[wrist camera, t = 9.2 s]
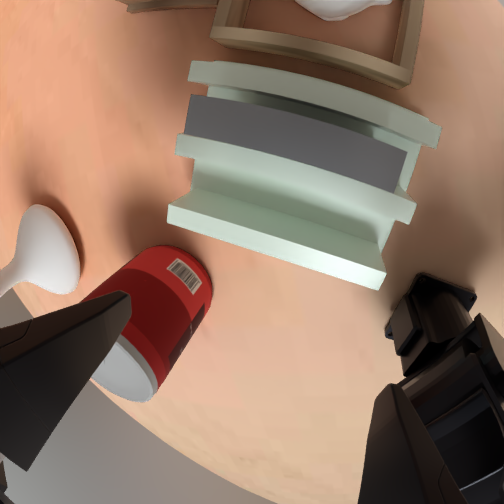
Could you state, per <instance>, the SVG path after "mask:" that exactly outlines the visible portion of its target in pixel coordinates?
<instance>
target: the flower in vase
mask: <svg viewBox="0 0 504 504" xmlns="http://www.w3.org/2000/svg"><path fill="white" fill-rule="evenodd" d="M79 277H80V261H79V256H78V252H77V249H76V246H75V243H74V241H73V238H72V236H71V234H70V232H69V230H68V229H67V227H66V225H65V224H64V222H63V221H62V220H61V218H60V217H59V216H58V215H57V214H56V213H55V212H54V211H53V210H51V209H50V208H48V207H46V206H43V205H39V204H34V205H32V206H30V207H29V208H28V209H27V210H26V212H25V213H24V214H23V216H22V219H21V222H20V225H19V229H18V236H17V244H16V251H15V255H14V258H13V259H12V261H11V262H10V263H9V264H8V265H7V266H6V267H4V268H3V269H2V270H0V297H1V296H2V295H3V294H4V293H5V292H7V290H9V289H10V288H12V287H13V286H15V285H16V284H18V283H20V282H24V281H27V282H31V283H33V284H35V285H37V286H39V287H41V288H43V289H45V290H48V291H50V292H53V293H57V294H67V293H70V292H73V291H74V290H75V289H76V287H77V285H78V281H79Z"/></svg>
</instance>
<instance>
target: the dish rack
mask: <svg viewBox="0 0 504 504" xmlns="http://www.w3.org/2000/svg"><path fill="white" fill-rule="evenodd" d="M187 81H190V82H195V83H199V84H204V85H208V86H209V87H208V92H207V96H208V97H215V98H221V99H227V100H233V101H239V102H244V103H250V104H255V105H259V106H264V107H269V108H273V109H277V110H282V111H286V112H290V113H294V114H298V115H301V116H305V117H309V118H312V119H316V120H319V121H323V122H326V123H329V124H333V125H336V126H339V127H342V128H345V129H348V130H351V131H354V132H357V133H360V134H363V135H366V136H368V137H371V138H374V139H376V140H379V141H382V142H384V143H387V144H389V145H392V146H394V147H397V148H399V149H402V150H404V151H406V152H408V153H407V156H406V159H405V162H404V165H403V168H402V171H401V174H400V177H399V180H398V183H397V186H396V189H395V192H394V194H393V193H390V192H388V191H385V190H383V189H380V188H377V187H375V186H372V185H369V184H366V183H364V182H361V181H358V180H355V179H352V178H349V177H347V176H344V175H341V174H338V173H335V172H332V171H328V170H325V169H322V168H319V167H316V166H313V165H309V164H306V163H303V162H299V161H296V160H292V159H289V158H285V157H282V156H278V155H274V154H271V153H267V152H263V151H259V150H255V149H251V148H247V147H243V146H238V145H234V144H230V143H225V142H221V141H216V140H211V139H206V138H201V137H196V136H191V135H186V134H184V133H179V134H177V141H176V148H175V155H179V156H183V157H188V158H192V159H195V163H194V169H193V176H192V183H191V189H190V192H189V193H187V194H186V195H184V196H182V197H180V198H179V199H177V200H175V201H173V202H172V203H170V204H168V215H167V223H169V224H172V225H176V226H179V227H182V228H185V229H188V230H191V231H194V232H197V233H201V234H204V235H207V236H210V237H213V238H216V239H219V240H222V241H225V242H229V243H232V244H235V245H238V246H241V247H244V248H247V249H250V250H253V251H257V252H260V253H263V254H266V255H269V256H272V257H275V258H278V259H281V260H285V261H288V262H291V263H294V264H297V265H300V266H303V267H306V268H309V269H312V270H316V271H319V272H322V273H325V274H328V275H331V276H334V277H337V278H340V279H343V280H346V281H350V282H353V283H356V284H359V285H362V286H365V287H368V288H371V289H374V290H377V291H378V290H379V288H380V286H381V284H382V282H383V280H384V278H385V276H386V274H387V272H386V269H385V265H384V262H383V259H382V255H381V253H382V250H383V248H384V246H385V243H386V241H387V239H388V236H389V234H390V232H391V229H392V227H393V224H394V222H395V220H398V221H400V222H403V223H405V224H408V225H409V223H410V221H411V219H412V216H413V214H414V211H415V209H416V206H417V203H416V202H415V201H414V200H413V199H412V198H411V197H410V196H409V195H408V194H407V193H406V190H407V188H408V185H409V182H410V179H411V176H412V173H413V170H414V167H415V164H416V161H417V158H418V155H419V151H420V148H421V145H423V146H427V147H430V148H433V149H436V148H437V144H438V141H439V137H440V134H441V130H442V127H440V126H438V125H436V124H434V123H432V122H430V121H428V120H429V119H428V118H426V117H424V116H422V115H420V114H417V113H415V112H413V111H411V110H408V109H406V108H404V107H401V106H399V105H396V104H394V103H391V102H389V101H386V100H384V99H381V98H378V97H376V96H373V95H370V94H367V93H364V92H361V91H358V90H355V89H352V88H349V87H346V86H343V85H339V84H336V83H333V82H329V81H325V80H322V79H318V78H314V77H310V76H306V75H302V74H297V73H293V72H288V71H284V70H279V69H273V68H268V67H262V66H256V65H249V64H242V63H235V62H226V61H217V60H214V62H207V61H194V60H192V61H191V66H190V70H189V75H188V80H187Z"/></svg>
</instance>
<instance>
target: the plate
mask: <svg viewBox="0 0 504 504" xmlns="http://www.w3.org/2000/svg"><path fill="white" fill-rule="evenodd" d="M184 134H186V135H191V136H196V137H201V138H206V139H211V140H216V141H221V142H225V143H230V144H234V145H238V146H243V147H247V148H251V149H255V150H259V151H263V152H267V153H271V154H274V155H278V156H282V157H285V158H289V159H292V160H296V161H299V162H303V163H306V164H309V165H313V166H316V167H319V168H322V169H325V170H328V171H332V172H335V173H338V174H341V175H344V176H347V177H349V178H352V179H355V180H358V181H361V182H364V183H366V184H369V185H372V186H375V187H377V188H380V189H383V190H385V191H388V192H390V193H393V194H394V192H395V189H396V186H397V183H398V180H399V177H400V174H401V171H402V168H403V165H404V162H405V159H406V156H407V153H408V152H406V151H404V150H402V149H399V148H397V147H394V146H392V145H389V144H387V143H384V142H382V141H379V140H376V139H374V138H371V137H368V136H366V135H363V134H360V133H357V132H354V131H351V130H348V129H345V128H342V127H339V126H336V125H333V124H329V123H326V122H323V121H319V120H316V119H312V118H309V117H305V116H301V115H298V114H294V113H290V112H286V111H282V110H277V109H273V108H269V107H264V106H259V105H255V104H250V103H244V102H239V101H233V100H227V99H221V98H215V97H208V96H201V95H193V94H191V97H190V102H189V108H188V113H187V118H186V124H185V130H184Z"/></svg>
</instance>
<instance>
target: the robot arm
mask: <svg viewBox="0 0 504 504" xmlns="http://www.w3.org/2000/svg"><path fill="white" fill-rule="evenodd" d="M421 278H424V280H423V281H420V279H421ZM471 297H472V298H471ZM470 298H471V299H470ZM476 299H477V296H476V294H475V292H473V291H471V290H468V289H466V288H463V287H461V286H458V285H455V284H453V283H450V282H448V281H445V280H442V279H440V278H437V277H434V276H432V275H429V274H426V273H423V272H422V273H419V274H418V275H417V276H416V278H415V280H414V281H413V283H412V285H411V287H410V289H409V291H408V292H407V294H406V295H404V296H403V298H402V299H401V301H400V303H399V305H398V306H397V308H396V310H395V312H394V313H393V315H392V317H391V318H390V323H389V325H388V326H387V328H386V329H385V337H386V338H388V339H392V340H394V344H395V350H396V354H397V355H398V356H400V357H401V363H402V369H403V375H404V376H405V377H406V378H405V379H403V380H402V381H400V382H399V383H398V384H392V383H390V384H388V385H387V386H386V387H385V388H384V389H383V390H382V392H381V393H380V394H379V395H378V396H377V397H376V399H375V402H374V408H373V413H372V418H371V424H370V428H369V433H368V438H367V445H366V453H365V461H364V468H363V475H362V482H361V488H360V493H359V499H358V504H504V338H503V337H502V336H501V335H500V334H499V333H498V332H497V330H496V329H495V328H494V327H493V326H492V325H491V324H490V323H489V322H488V321H487V319H486V318H485V317H484V316H483V315H482V314H481V313H479V314H478V315H477V316H476V317H475V318H474V321H473V320H472V318H471V316H470V314H469V311H470V309H471V308H472V306H473V304H474V303H475V301H476ZM131 313H132V310H131V296H130V295H129V294H128V293H126V292H124V291H122V290H118V291H115V292H112V293H109V294H106V295H102V296H99V297H96V298H93V299H90V300H87V301H84V302H81V303H78V304H75V305H72V306H69V307H66V308H63V309H60V310H57V311H54V312H51V313H48V314H45V315H42V316H39V317H36V318H33V320H32V319H30V320H27V321H24V322H21V323H18V324H15V325H11V326H7V327H3V328H0V504H14V503H13V502H12V501H11V500H10V499H9V498H8V497H7V496H6V495H5V494H4V492H5V491H6V489H7V482H6V477H5V471H4V465H3V459H4V458H5V457H7V458H8V459H9V460H11V461H12V462H14V463H15V464H16V465H18V466H19V467H20V468H22V469H24V470H25V471H28V469H29V468H30V466H31V465H32V463H33V461H34V460H35V458H36V457H37V455H38V454H39V452H40V450H41V449H42V447H43V446H44V444H45V443H46V441H47V440H48V438H49V436H50V435H51V433H52V432H53V430H54V429H55V427H56V426H57V424H58V423H59V421H60V420H61V419H62V417H63V416H64V414H65V413H66V411H67V410H68V408H69V407H70V406H71V404H72V403H73V401H74V400H75V398H76V397H77V396H78V394H79V393H80V391H81V390H82V389H83V387H84V386H85V384H86V383H87V382H88V380H89V379H90V378H91V376H92V375H93V373H94V372H95V371H96V369H97V368H98V367H99V365H100V364H101V363H102V361H103V360H104V359H105V357H106V356H107V355H108V353H109V352H110V350H111V349H112V347H113V346H114V344H115V342H116V341H117V339H118V337H119V335H120V334H121V332H122V330H123V329H124V327H125V326H126V324H127V322H128V321H129V319H130V317H131ZM389 332H392V333H389Z"/></svg>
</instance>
